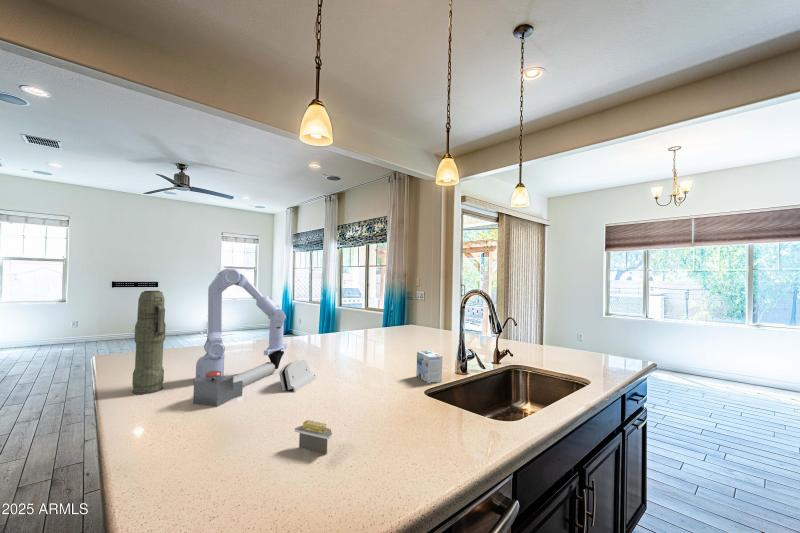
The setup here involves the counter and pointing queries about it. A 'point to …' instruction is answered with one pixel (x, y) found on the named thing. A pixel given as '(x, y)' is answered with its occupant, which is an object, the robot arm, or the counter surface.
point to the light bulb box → (429, 366)
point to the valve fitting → (216, 389)
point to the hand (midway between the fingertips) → (275, 368)
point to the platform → (314, 436)
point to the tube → (255, 374)
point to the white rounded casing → (295, 375)
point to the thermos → (149, 343)
